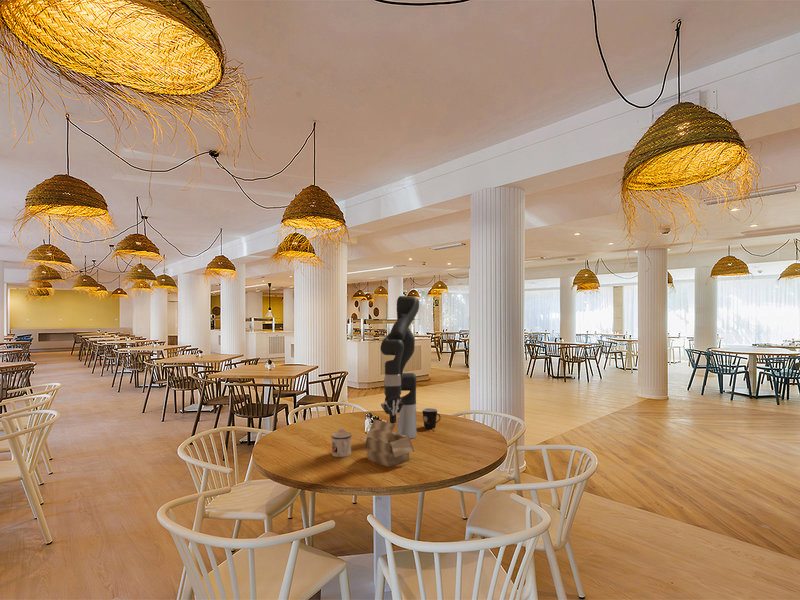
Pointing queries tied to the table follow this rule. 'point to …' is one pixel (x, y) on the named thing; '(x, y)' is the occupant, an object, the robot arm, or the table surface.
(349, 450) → the teacup with lid
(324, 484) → the table surface
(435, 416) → the coffee mug
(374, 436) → the front flap
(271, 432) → the table surface
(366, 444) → the carton
